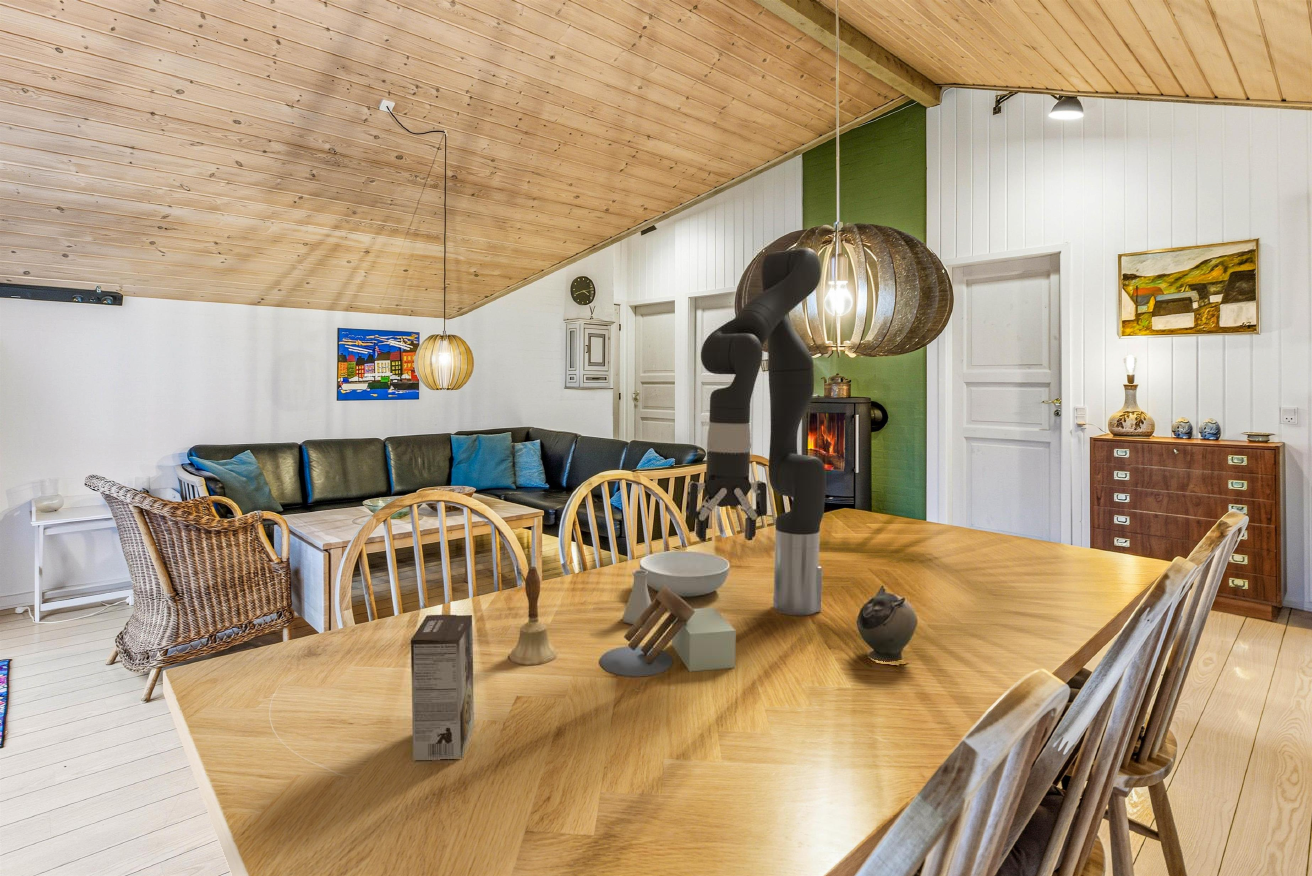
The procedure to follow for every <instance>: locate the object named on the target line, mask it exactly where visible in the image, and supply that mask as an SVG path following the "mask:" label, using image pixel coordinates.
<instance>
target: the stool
mask: <svg viewBox="0 0 1312 876" xmlns="http://www.w3.org/2000/svg"><path fill="white" fill-rule="evenodd" d="M657 592H658V593H656V595H655V598H654V599H653V600H652V601H651V604H650V605H649V606H648V608H647V609H646V610H645V611H644V612H643V614H642V615H641V616H640V617H639V619H638V620H637V621H636V622H635V623H634V624H632V626H631V627H630V628H629V629H628V630H627V631H626V633H625V635H624V636H623V638H624V639H625V640H626V641H627V642H629V643H628V644H627V646H629V647H630V648H631V649H632V650H635V649H636V648H637V647H638V646H640V644H641V643H642V642H643V641H644V639H645V638H646V637H647V636H648V635H649V634H650V632H651V631H652V630H653V628H654V627H655V626H656V625H657V624H658V622H659V621H660V620H661V618H663V616H664V615H665V614H666V613H667V612H668V611H669V612H670V613H669V614H668V616H667V617H666V618H665V619H664V620H663V621H662V623H661V624H660V625H659V627H658V628H656V630H655V631H654V633H653V634H652V635H651V636H650V637H649V638H648V640H647V641H646V642H645V643H644V645H642V646H643V647H642V648H641V651H642V652H643V653H644V654H645V655H647V654H648V652H649V651H650V650H651V649H652V648H653V650H652V651H651V652H650V653H649V654H648V656H647V657H646V658H645V659H646V660H647V661H648V662H649V663H650V664H652V663H653V662H654V660H655V659H656V658H657V657H658V655H659V654H660V653H661V652H662V651H664V649H665V648H666V647H667V645H668V644H669V643H670V642H672V638H673V637H674V636H675V635H676V633H677V632H678V631H679V630H680V629H681V627H682V626H683V625H684V624H685V623H687V621H688V620H689V619H690V618H691V616H692V615H693V614H694V613H695V611H694V610H693V609H694V608H693V607H692V606H690V605H689V604H688V603H687V602H686V601H685V600H684V599H683V597H680V596H678V595H677V594H676V593H674V592H673V591H672V590H671V589H669V588H668V587H667V586H665V585H664V586H663V588H662V589H661V590H660V591H657ZM654 612H655V613H654ZM653 613H654V614H653ZM652 614H653V615H652ZM651 615H652V616H651ZM650 617H651V618H650ZM649 618H650V619H649ZM676 618H678V619H677V620H676ZM648 619H649V620H648ZM647 620H648V621H647ZM675 620H676V622H675V623H674V624H673V625H672V623H673V622H674V621H675ZM646 621H647V622H646ZM645 623H646V624H645ZM644 624H645V625H644Z"/></svg>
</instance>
